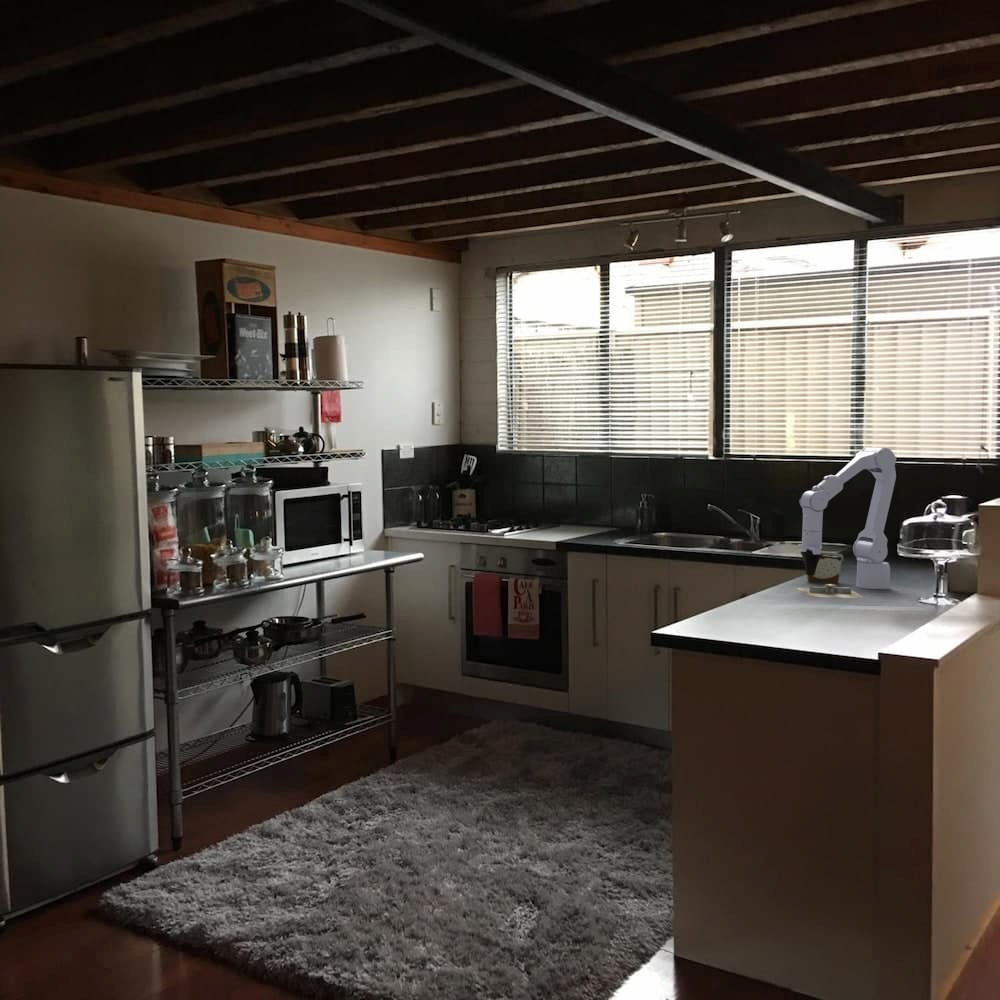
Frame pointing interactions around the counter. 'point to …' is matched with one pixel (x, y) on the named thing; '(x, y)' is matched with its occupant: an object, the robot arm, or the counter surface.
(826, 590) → the t key
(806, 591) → the plate
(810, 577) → the food container
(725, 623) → the counter surface
